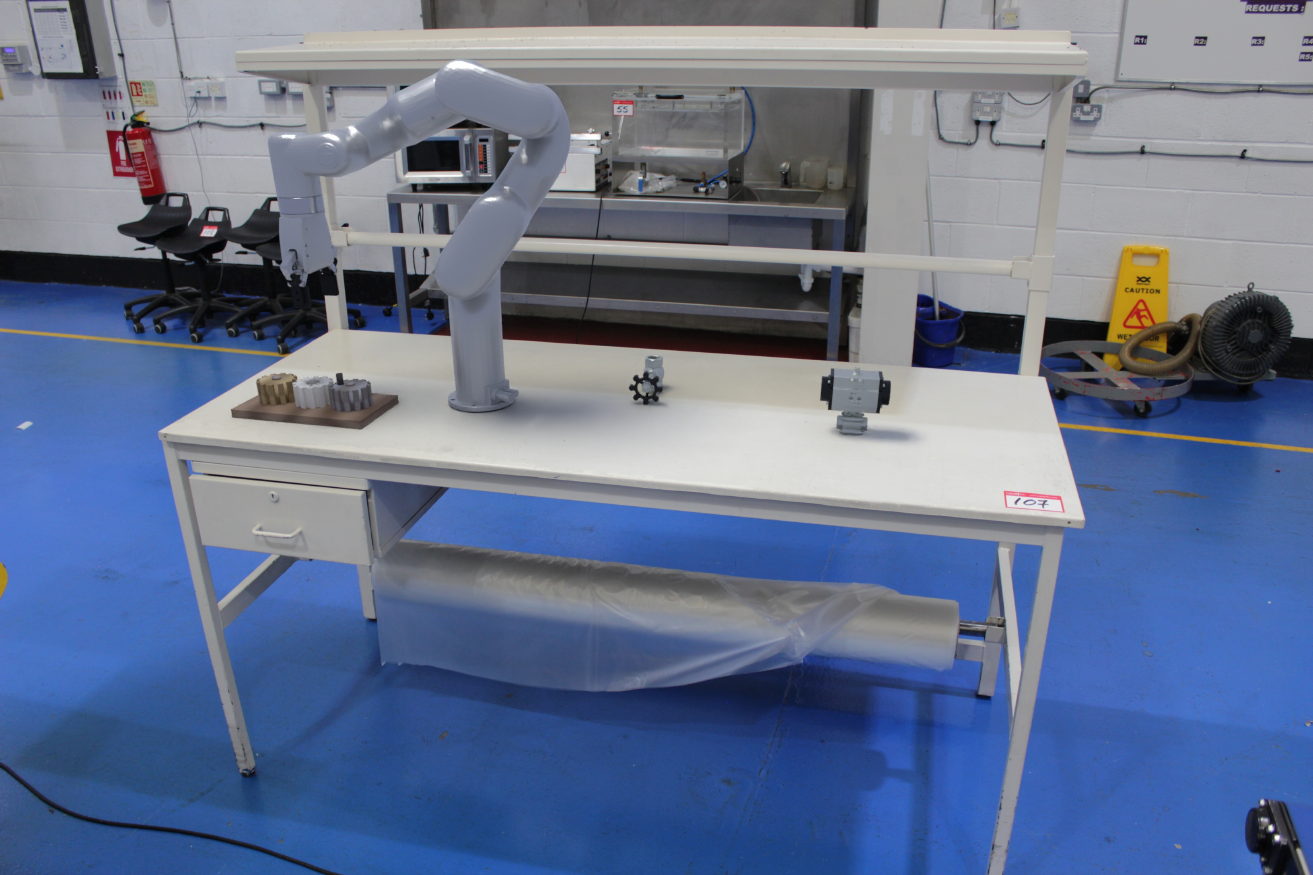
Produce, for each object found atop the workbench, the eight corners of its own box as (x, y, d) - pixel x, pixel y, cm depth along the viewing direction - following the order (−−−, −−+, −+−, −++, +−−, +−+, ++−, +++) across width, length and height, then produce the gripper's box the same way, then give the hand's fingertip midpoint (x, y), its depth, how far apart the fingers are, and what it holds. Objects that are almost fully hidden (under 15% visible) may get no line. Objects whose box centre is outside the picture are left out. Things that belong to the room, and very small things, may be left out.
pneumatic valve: (817, 424, 159) (823, 361, 154) (884, 429, 157) (891, 365, 152) (817, 436, 154) (822, 371, 149) (885, 441, 152) (893, 375, 147)
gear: (344, 400, 165) (341, 380, 163) (311, 411, 159) (308, 390, 158) (320, 393, 169) (317, 373, 167) (287, 403, 163) (284, 383, 162)
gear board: (398, 402, 168) (394, 365, 166) (361, 429, 156) (355, 389, 153) (278, 392, 174) (272, 356, 171) (232, 417, 161) (224, 378, 158)
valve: (639, 384, 180) (628, 404, 169) (639, 353, 177) (628, 371, 166) (671, 386, 179) (662, 406, 168) (671, 355, 176) (662, 373, 165)
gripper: (308, 199, 163) (323, 290, 170) (253, 213, 147) (271, 312, 154) (345, 200, 162) (359, 291, 168) (294, 213, 146) (310, 314, 153)
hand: (317, 301), depth 161 cm, fingers open, 9 cm apart
